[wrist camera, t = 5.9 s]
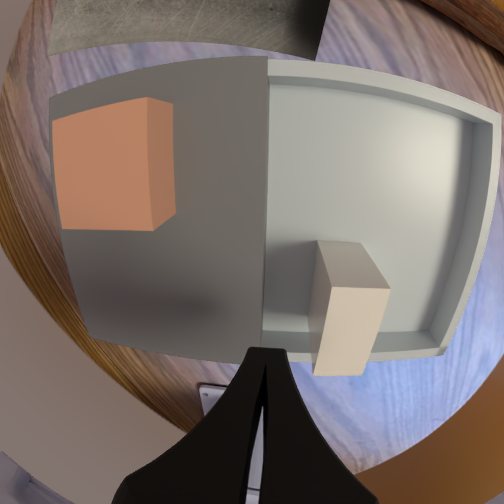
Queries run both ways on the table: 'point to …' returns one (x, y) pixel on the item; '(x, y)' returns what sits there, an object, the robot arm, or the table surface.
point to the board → (184, 217)
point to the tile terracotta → (115, 166)
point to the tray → (376, 198)
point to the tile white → (344, 308)
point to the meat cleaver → (231, 23)
